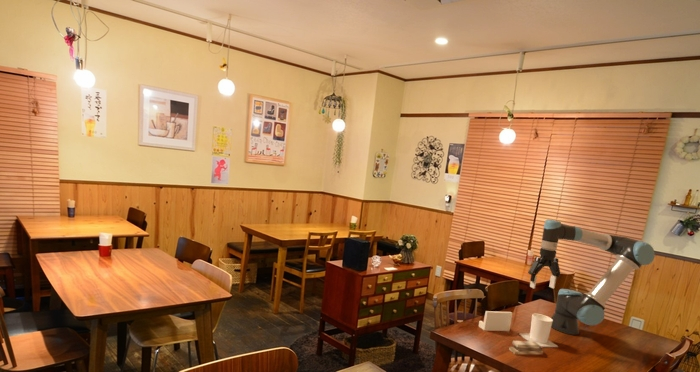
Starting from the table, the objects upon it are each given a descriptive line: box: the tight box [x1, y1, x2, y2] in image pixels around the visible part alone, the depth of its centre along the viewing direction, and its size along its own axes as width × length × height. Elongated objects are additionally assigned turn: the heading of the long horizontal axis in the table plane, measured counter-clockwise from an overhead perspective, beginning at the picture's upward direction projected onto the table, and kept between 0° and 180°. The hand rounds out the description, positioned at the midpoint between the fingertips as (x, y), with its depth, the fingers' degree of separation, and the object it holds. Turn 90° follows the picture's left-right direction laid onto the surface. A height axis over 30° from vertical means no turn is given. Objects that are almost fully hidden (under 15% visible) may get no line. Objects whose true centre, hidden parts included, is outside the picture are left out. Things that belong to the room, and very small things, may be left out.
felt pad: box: [518, 332, 559, 348], centre depth 192 cm, size 13×13×1 cm
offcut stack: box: [508, 340, 544, 355], centre depth 176 cm, size 16×5×4 cm, turn 106°
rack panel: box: [478, 310, 513, 332], centre depth 199 cm, size 16×5×10 cm, turn 106°
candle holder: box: [529, 312, 553, 343], centre depth 191 cm, size 10×10×12 cm
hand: (542, 287), depth 197 cm, fingers open, 13 cm apart
